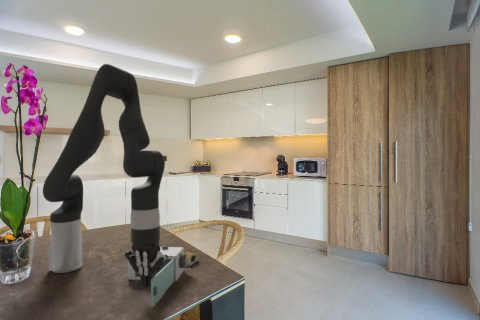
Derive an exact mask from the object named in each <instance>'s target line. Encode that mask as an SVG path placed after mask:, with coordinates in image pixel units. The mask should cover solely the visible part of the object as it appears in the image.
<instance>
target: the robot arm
mask: <svg viewBox="0 0 480 320" xmlns="http://www.w3.org/2000/svg"><path fill="white" fill-rule="evenodd" d="M95 73H96V74H95V76H94V79H93V81H92V84H91V86H90V88H89V89H90V90H89V92H88V95H87V98H86V101H85V103H84V105H83V108H82V109H81V112H80V113H79V116H78V118H77V120H76V122H75V124H74V126H73V128H72V130H71V132H70V134H69V136H68V139H67V142H66V143H65V145H64V148H63V149H62V151H61V153H60V155H59V157H58V158H57V161H56V162H55V164H54V166H53V167H52V168H51V170H50V172H49V173H48V175H47V177H46V178H45V180H44V183H43V186H42V195H43V198H44V199H45V200H46V201H47V202H50V203H60V202H62V204H61V205H60V206H59V207H58V208H57V209H55V210H54V211H52V212H51V213H50V215H49V219H50V221H49V223H50V242H49V243H48V245H47V247H48V249H47V251H48V270H49V271H50V272H52V273H55V274H64V273H71V272H73V271H76V270H78V269H80V268H82V267H83V248H82V247H83V245H82V244H83V241H82V238H83V237H82V219H81V218H82V212H83V209H84V185H83V180H82V178H81V177H80V176H79V175H78V174H75V171H76V170H77V169H78V168H80V167H81V166H82V165H83V164H85V163H86V162H88V160H90V159H91V158H92V157H93V156H95V155H96V153H97V152H98V149H99V148H100V146H101V143H102V142H103V140H104V138H105V135H106V132H105V131H106V130H105V124H104V120H103V115H102V114H103V113H102V106H103V103H104V101H105V98H106V96H108V97H111V98H114V99H116V100H120V101H121V102H122V104H123V105H124V109H123V111H122V112H121V114H120V117H119V118H118V128H119V129H118V130H119V133H120V136H121V140H122V143H123V162H122V168H123V170H124V173H125V174H126V175H127V176H128V177H130V178H143V177H144V178H147V179H146V181H145V182H144V183H142V184H140V185H137V186H134V187H132V189H131V190H130V191H131V192H130V199H131V200H130V205H131V207H130V209H131V211H130V212H131V213H130V243H131V249H129V250H128V251H126V252H125V253H124V256H125V258H126V260H127V262H128V261H129V263H130V265H131V266H132V268H133V270H134V271H135V272H136V271H138V272H139V274H140V275H141V280H140V285H141V288H142V289H144V290H145V289H146V290H148V289H149V288H151V279H152V274H154V273H155V272H157V271H158V270H159V269H160V268H161V266H162V265H163V264H164V262H165V261H166V260H167V258H168V256H167V255H166V254H165V255H163V254H162V253H161V252H160V250H161V249H160V247H161V246H160V241H161V219H160V217H161V215H160V205H159V200H160V199H159V193H160V192H159V191H160V188H161V187H160V186H161V183H162V179H163V175H164V172H165V166H166V162H165V161H166V160H165V157H164V155H163V154H162V153H161V151H159V150H146V149H147V148H148V147H149V145H150V142H151V140H150V139H151V138H150V135H149V133H148V130H147V128H146V125H145V122H144V119H143V115H142V110H141V103H140V96H139V90H138V89H139V88H138V84H137V80H136V78H135V76H134V75H133V74H132V73H131V72H129V71H126V70H125V69H123V68H120V67H117V66H116V65H113V64H112V63H111V64H110V63H103V64H102V65H101V66H100V67H99V68H98V70H97V72H95ZM156 257H157V258H156ZM155 258H156V261H157V262H156V263H155ZM135 262H136V264H137V265H136V264H135Z"/></svg>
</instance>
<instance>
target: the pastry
mask: <svg viewBox="0 0 480 320" xmlns="http://www.w3.org/2000/svg"><path fill="white" fill-rule="evenodd" d="M184 254H187V257H188V262H187V266H186V267H190V266H192V265H193V264H194V263H196V262H197V261H198V259H199V258H198V255H197V253H194V252H193V253H192V252H189V251H186V252H184Z"/></svg>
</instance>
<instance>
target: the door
mask: <svg viewBox="0 0 480 320" xmlns="http://www.w3.org/2000/svg"><path fill="white" fill-rule="evenodd" d="M174 282H177V281H176V273H175V258H172V260H171V261H170V262H169V263H168V264H167V265H166V266H165V267H164V268H163V269H162V270H161V271H159V272H158V273H157V274H156V275H155V276H154V277H153V278H152V279H151V286H150V291H151V292H150V293H151V296H150V299H151V301H150V302H151V306H154V305H155V304H156V302H157V301H158V300H159V299H160V298H161V297H162V296H163V294H164V293H165V292H166V291H167V290H168V289H169V288H170V287H171V285H173V283H174Z"/></svg>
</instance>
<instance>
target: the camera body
mask: <svg viewBox="0 0 480 320" xmlns="http://www.w3.org/2000/svg"><path fill="white" fill-rule="evenodd" d="M160 249H161V250H160V252H161V253H162V254H163V255H165V254H166V255H167V256H168V258H167V260H166V261H165V262H164V264H163V265H162V266H161V268H160V269H159V270H158V271H157V272H155V273H154V274H152V278H153V277H154V276H155V275H156V274H157V273H158V272H159V271H161V270H162V269H163V268H164V267H165V266H166V265H167V264H168V263H169V262H170V261H171V260H172V258H175V273H176V281H175V282H177V281H178V280H179V278H180V277H181V275H182V274H183V272H184V271H185V269H186V268H187V267H188V266H187V262H188V257H187V254H184V251H185V249H184V247H181V246H179V247H178V246H168V244H167V245H166V244H164V245H162V246H160ZM156 258H157V257H156ZM156 258H155V263H156V262H157V261H156ZM135 264H136V262H135ZM136 265H137V264H136ZM127 280H133V281H135V280H136V281H138V280H139V281H141V275H140V274H139V272H138V271H136V272H135V271H134V270H133V268H132V266H131V265H130V263H129V261H128V260H127Z"/></svg>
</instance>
